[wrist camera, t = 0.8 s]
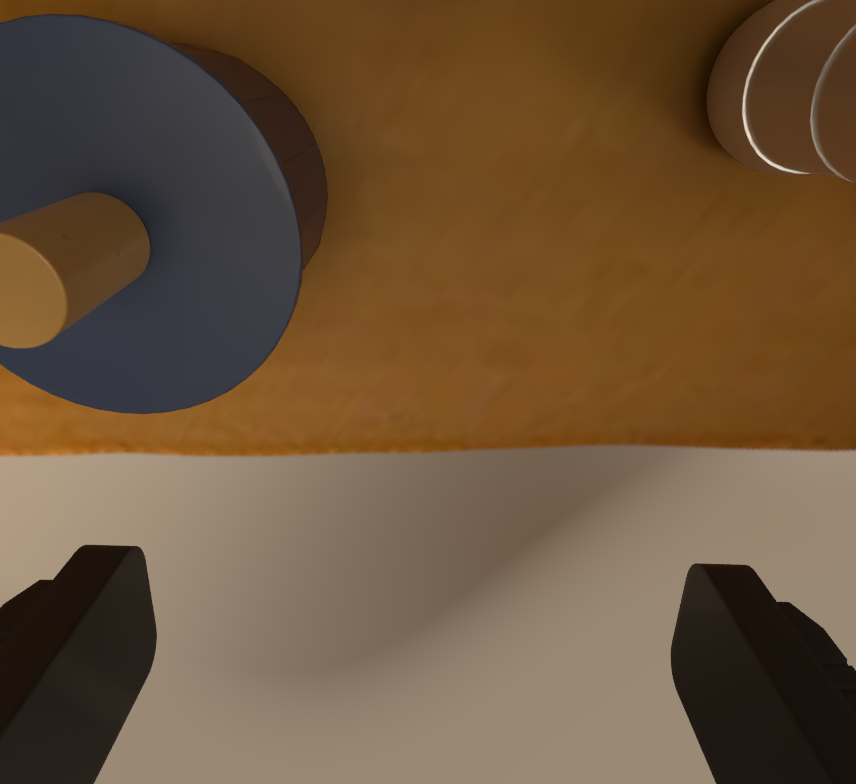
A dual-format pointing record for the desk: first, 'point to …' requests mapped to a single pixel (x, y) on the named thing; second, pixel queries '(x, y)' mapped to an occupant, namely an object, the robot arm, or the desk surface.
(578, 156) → the desk surface
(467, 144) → the desk surface
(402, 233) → the desk surface
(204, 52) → the tin
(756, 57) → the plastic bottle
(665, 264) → the desk surface
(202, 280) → the tin lid
